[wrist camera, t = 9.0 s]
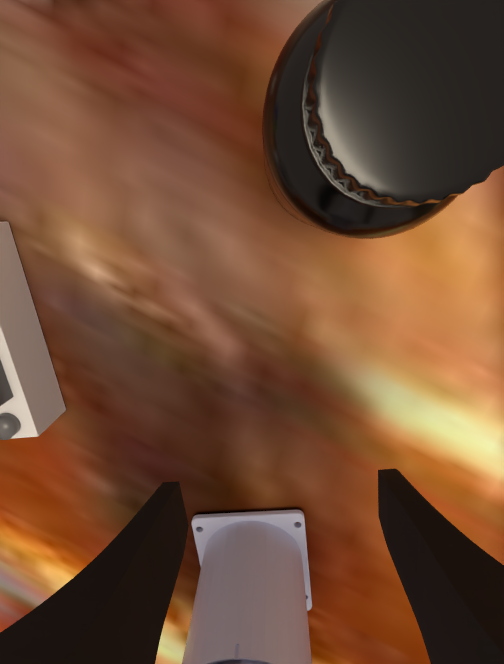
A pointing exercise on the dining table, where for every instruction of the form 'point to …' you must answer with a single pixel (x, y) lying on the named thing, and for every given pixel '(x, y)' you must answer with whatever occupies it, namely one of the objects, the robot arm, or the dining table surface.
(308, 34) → the supplement bottle
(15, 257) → the camera body
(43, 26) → the dining table surface
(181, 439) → the dining table surface
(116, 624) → the robot arm
